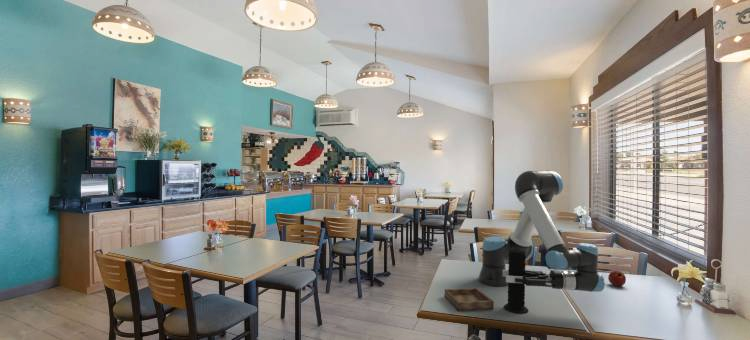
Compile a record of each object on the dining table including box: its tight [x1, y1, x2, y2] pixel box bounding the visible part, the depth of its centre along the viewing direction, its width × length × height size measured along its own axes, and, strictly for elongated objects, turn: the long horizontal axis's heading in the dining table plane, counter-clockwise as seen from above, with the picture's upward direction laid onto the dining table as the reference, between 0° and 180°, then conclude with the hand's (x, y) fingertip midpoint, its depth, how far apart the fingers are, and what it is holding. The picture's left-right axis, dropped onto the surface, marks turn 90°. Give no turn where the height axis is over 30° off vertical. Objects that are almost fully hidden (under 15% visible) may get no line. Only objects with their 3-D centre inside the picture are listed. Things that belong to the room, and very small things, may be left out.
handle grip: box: [503, 248, 530, 315], centre depth 149 cm, size 10×26×10 cm
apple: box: [607, 270, 627, 287], centre depth 180 cm, size 7×8×8 cm
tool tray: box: [444, 287, 494, 312], centre depth 155 cm, size 16×16×4 cm
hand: (504, 275), depth 150 cm, fingers closed on handle grip, 7 cm apart
